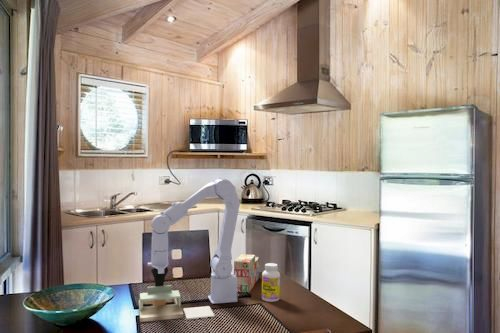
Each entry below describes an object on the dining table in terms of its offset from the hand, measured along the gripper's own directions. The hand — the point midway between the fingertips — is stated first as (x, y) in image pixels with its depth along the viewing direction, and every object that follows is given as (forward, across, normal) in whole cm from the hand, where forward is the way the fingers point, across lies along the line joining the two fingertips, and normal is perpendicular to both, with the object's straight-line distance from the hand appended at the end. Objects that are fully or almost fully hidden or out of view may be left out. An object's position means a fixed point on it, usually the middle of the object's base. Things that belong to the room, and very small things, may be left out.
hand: (159, 289), depth 136 cm
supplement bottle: (+6, +4, +40) cm, 41 cm away
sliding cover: (+4, +4, 0) cm, 6 cm away
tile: (+6, +11, +12) cm, 17 cm away
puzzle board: (+6, +5, 0) cm, 8 cm away
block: (+6, +1, 0) cm, 6 cm away
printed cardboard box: (+6, -16, +37) cm, 41 cm away
